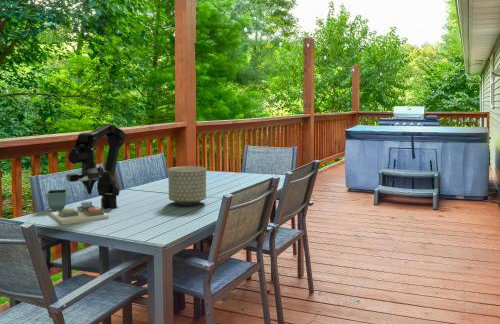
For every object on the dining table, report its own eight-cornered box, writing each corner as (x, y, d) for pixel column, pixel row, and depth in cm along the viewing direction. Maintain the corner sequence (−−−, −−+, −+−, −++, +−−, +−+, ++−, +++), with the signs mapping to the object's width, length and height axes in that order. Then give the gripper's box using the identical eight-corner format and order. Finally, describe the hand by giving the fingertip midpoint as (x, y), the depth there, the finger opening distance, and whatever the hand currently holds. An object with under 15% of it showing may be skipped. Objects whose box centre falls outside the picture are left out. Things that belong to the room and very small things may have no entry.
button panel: (94, 210, 244) (93, 203, 244) (108, 218, 228) (108, 211, 228) (51, 215, 233) (50, 209, 232) (63, 224, 217) (63, 217, 216)
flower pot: (47, 212, 240) (46, 193, 239) (49, 208, 248) (48, 190, 247) (66, 211, 242) (66, 192, 241) (68, 207, 251) (67, 189, 249)
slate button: (90, 206, 240) (90, 200, 240) (93, 207, 237) (93, 202, 236) (80, 207, 238) (79, 202, 237) (83, 209, 234) (83, 203, 233)
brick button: (97, 211, 232) (97, 206, 232) (101, 213, 229) (100, 208, 228) (87, 213, 230) (86, 207, 229) (90, 215, 226) (90, 209, 225)
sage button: (72, 212, 231) (71, 207, 230) (75, 214, 227) (75, 209, 227) (61, 214, 228) (61, 208, 228) (64, 216, 224) (64, 210, 224)
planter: (199, 208, 248) (199, 172, 246) (163, 206, 252) (162, 170, 250) (210, 200, 267) (210, 166, 264) (176, 199, 270) (175, 165, 268)
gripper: (73, 164, 219) (75, 200, 221) (114, 160, 230) (115, 194, 232) (64, 161, 228) (66, 195, 230) (104, 158, 239) (106, 190, 241)
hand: (89, 194), depth 233 cm, fingers closed
